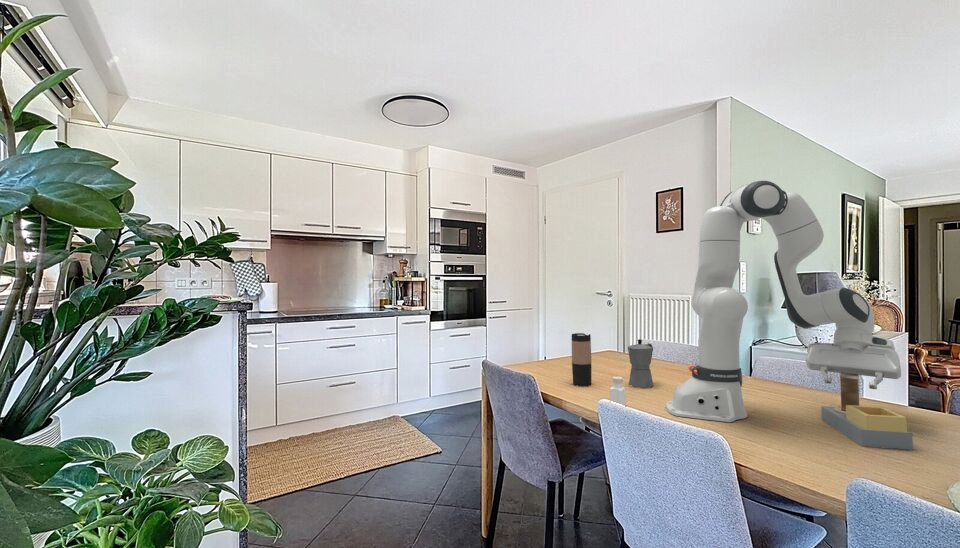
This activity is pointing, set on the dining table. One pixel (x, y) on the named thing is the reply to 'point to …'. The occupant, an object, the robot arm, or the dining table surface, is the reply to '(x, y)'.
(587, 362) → the travel mug
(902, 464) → the dining table surface
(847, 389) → the brown rectangular block
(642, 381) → the coffeepot
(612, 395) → the salt shaker
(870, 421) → the grey and tan block
